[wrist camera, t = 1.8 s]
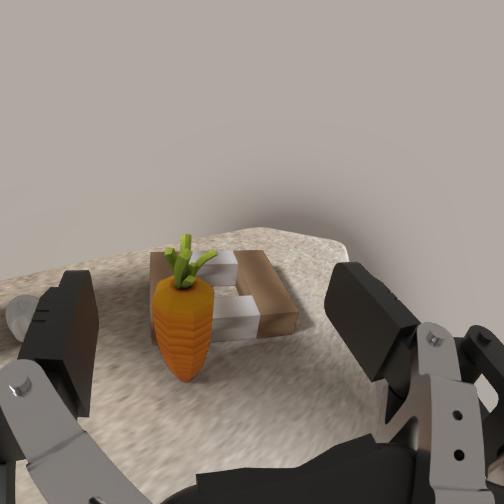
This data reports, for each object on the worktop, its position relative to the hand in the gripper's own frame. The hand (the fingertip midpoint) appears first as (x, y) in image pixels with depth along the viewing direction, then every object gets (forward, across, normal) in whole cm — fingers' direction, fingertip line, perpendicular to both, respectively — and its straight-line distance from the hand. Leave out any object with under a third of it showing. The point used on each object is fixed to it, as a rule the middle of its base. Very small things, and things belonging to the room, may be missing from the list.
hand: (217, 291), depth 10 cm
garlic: (+18, +18, +19) cm, 32 cm away
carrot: (+11, 0, +19) cm, 22 cm away
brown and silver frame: (+23, -5, +19) cm, 30 cm away
